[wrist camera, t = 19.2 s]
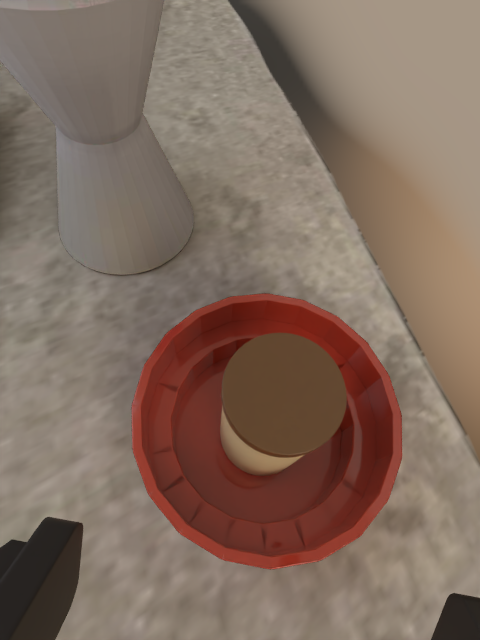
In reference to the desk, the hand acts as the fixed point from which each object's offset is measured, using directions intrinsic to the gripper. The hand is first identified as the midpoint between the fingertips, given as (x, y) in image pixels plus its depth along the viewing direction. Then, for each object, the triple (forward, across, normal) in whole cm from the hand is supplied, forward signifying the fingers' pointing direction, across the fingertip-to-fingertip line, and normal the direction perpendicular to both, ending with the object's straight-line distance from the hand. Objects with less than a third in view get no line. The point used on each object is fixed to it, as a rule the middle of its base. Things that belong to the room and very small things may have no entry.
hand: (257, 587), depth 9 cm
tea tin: (+16, -1, +5) cm, 17 cm away
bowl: (+16, -1, +6) cm, 17 cm away
